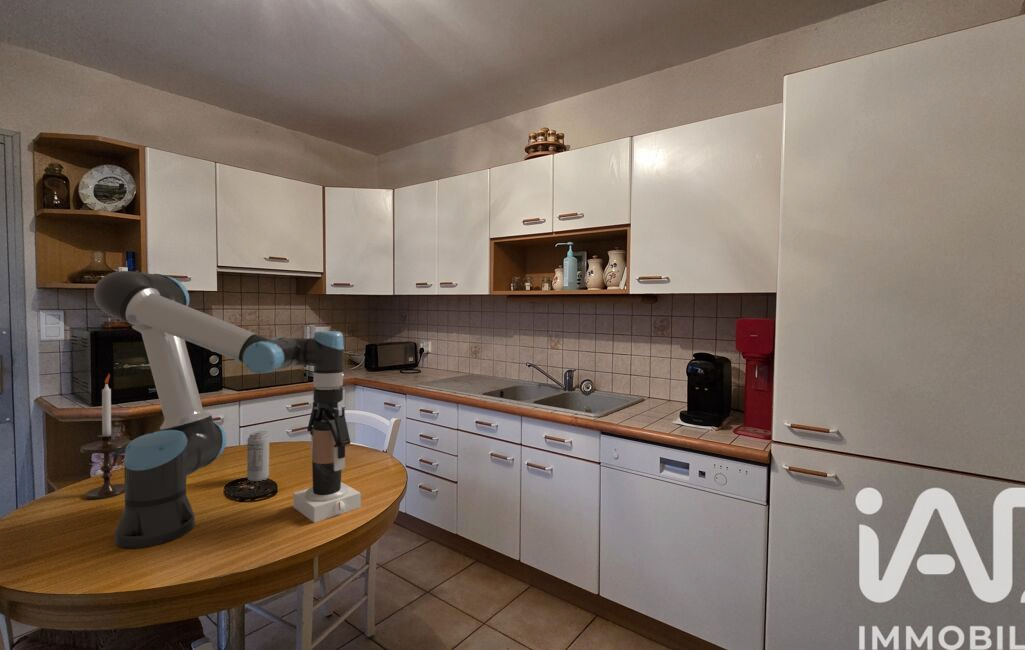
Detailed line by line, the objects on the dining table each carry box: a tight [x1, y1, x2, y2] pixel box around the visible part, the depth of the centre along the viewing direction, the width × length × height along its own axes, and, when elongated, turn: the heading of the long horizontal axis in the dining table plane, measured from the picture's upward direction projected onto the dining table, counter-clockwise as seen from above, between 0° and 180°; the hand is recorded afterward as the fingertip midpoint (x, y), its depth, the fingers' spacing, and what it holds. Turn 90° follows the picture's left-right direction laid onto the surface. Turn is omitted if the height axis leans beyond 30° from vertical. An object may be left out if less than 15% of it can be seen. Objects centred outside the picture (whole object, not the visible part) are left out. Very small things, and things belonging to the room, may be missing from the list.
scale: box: [292, 481, 362, 524], centre depth 124 cm, size 13×14×5 cm
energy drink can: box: [246, 430, 270, 482], centre depth 142 cm, size 6×6×15 cm
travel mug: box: [311, 418, 342, 495], centre depth 124 cm, size 8×8×20 cm
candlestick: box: [80, 374, 132, 501], centre depth 129 cm, size 11×11×35 cm
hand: (327, 463), depth 124 cm, fingers open, 13 cm apart
